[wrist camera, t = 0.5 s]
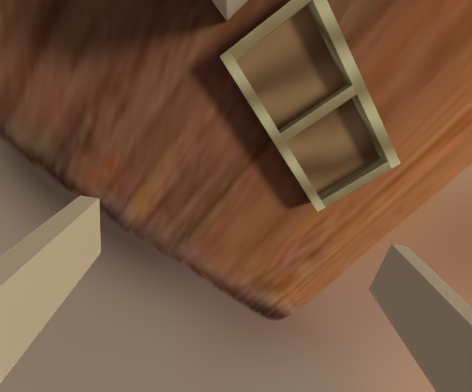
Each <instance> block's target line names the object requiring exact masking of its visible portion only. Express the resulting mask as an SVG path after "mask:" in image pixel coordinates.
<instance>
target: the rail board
mask: <svg viewBox="0 0 472 392" xmlns="http://www.w3.org/2000/svg"><path fill="white" fill-rule="evenodd" d="M220 59H221V61H222V62H223V64H224V65H225V67H226V68H227V70H228V72H229V73H230V75H231V76H232V78H233V80H234V81H235V83H236V84H237V86H238V87H239V89H240V91H241V92H242V94H243V95H244V97H245V99H246V100H247V102H248V103H249V105H250V106H251V108H252V110H253V111H254V113H255V114H256V116H257V118H258V119H259V121H260V122H261V124H262V125H263V127H264V129H265V130H266V132H267V133H268V135H269V137H270V138H271V140H272V141H273V143H274V144H275V146H276V148H277V149H278V151H279V152H280V154H281V156H282V157H283V159H284V160H285V162H286V163H287V165H288V167H289V168H290V170H291V171H292V173H293V175H294V176H295V178H296V179H297V181H298V182H299V184H300V186H301V187H302V189H303V190H304V192H305V193H306V195H307V197H308V198H309V200H310V201H311V203H312V204H313V206H314V207H315V209H316V210H317V212H318V211H320V210H322V209H323V208H325V207H327V206H329V205H330V204H332V203H334V202H335V201H337V200H339V199H341V198H342V197H344V196H346V195H347V194H349V193H351V192H353V191H354V190H356V189H358V188H359V187H361V186H363V185H365V184H366V183H368V182H370V181H372V180H373V179H375V178H377V177H378V176H380V175H382V174H384V173H385V172H387V171H389V170H390V169H392V168H394V167H396V166H397V165H399V164H401V163H400V161H399V159H398V157H397V154H396V152H395V150H394V148H393V146H392V143H391V141H390V139H389V137H388V134H387V132H386V130H385V128H384V126H383V123H382V121H381V119H380V117H379V114H378V112H377V110H376V108H375V106H374V103H373V101H372V99H371V97H370V94H369V92H368V90H367V88H366V86H365V83H364V81H363V79H362V77H361V74H360V72H359V70H358V68H357V66H356V63H355V61H354V59H353V57H352V54H351V52H350V50H349V48H348V46H347V43H346V41H345V39H344V37H343V34H342V32H341V30H340V28H339V26H338V23H337V21H336V19H335V17H334V14H333V12H332V10H331V8H330V6H329V3H328V1H327V0H291V1H289V2H288V3H287V4H286V5H284V6H283V7H282V8H280V9H279V10H278V11H277V12H275V13H274V14H273V15H272V16H270V17H269V18H268V19H267V20H265V21H264V22H263V23H261V24H260V25H259V26H258V27H256V28H255V29H254V30H253V31H251V32H250V33H249V34H247V35H246V36H245V37H244V38H242V39H241V40H240V41H239V42H237V43H236V44H235V45H234V46H232V47H231V48H230V49H228V50H227V51H226V52H225V53H223V54H222V55H221V56H220Z"/></svg>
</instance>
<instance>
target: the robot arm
mask: <svg viewBox="0 0 472 392" xmlns="http://www.w3.org/2000/svg"><path fill="white" fill-rule="evenodd" d="M100 253H101V243H100V207H99V198H92V197H86V196H79V197H78V198H77V199H75V200H74V201H73V202H71V203H70V204H69V205H67V206H66V207H65V208H63V209H62V210H61V211H59V212H58V213H57V214H55V215H54V216H53V217H51V218H50V219H49V220H47V221H46V222H45V223H43V224H42V225H41V226H40V227H38V228H37V229H35V230H34V231H33V232H32V233H30V234H29V235H28V236H26V237H25V238H24V239H22V240H21V241H20V242H18V243H17V244H16V245H14V246H13V247H12V248H10V249H9V250H8V251H6V252H5V253H4V254H3V255H1V256H0V383H1V382H2V381H3V379H4V378H5V377H6V375H7V374H8V373H9V371H10V370H11V369H12V368H13V366H14V365H15V364H16V362H17V361H18V360H19V358H20V357H21V356H22V355H23V353H24V352H25V351H26V349H27V348H28V347H29V345H30V344H31V343H32V342H33V340H34V339H35V337H36V336H37V335H38V334H39V332H40V331H41V330H42V328H43V327H44V326H45V324H46V323H47V322H48V321H49V319H50V318H51V317H52V315H53V314H54V313H55V311H56V310H57V309H58V307H59V306H60V305H61V304H62V302H63V301H64V300H65V298H66V297H67V296H68V294H69V293H70V292H71V291H72V289H73V288H74V287H75V285H76V284H77V283H78V281H79V280H80V279H81V277H82V276H83V275H84V274H85V272H86V271H87V270H88V268H89V267H90V266H91V264H92V263H93V262H94V261H95V259H96V258H97V257H98V255H99V254H100ZM369 290H370V292H371V293H372V295H373V296H374V298H375V300H376V301H377V303H378V304H379V305H380V307H381V309H382V310H383V312H384V313H385V315H386V316H387V318H388V319H389V321H390V322H391V324H392V325H393V327H394V328H395V330H396V331H397V333H398V334H399V336H400V338H401V339H402V341H403V342H404V344H405V345H406V347H407V348H408V350H409V351H410V353H411V354H412V356H413V357H414V359H415V360H416V362H417V363H418V365H419V366H420V368H421V369H422V371H423V372H424V374H425V375H426V377H427V379H428V380H429V382H430V383H431V385H432V386H433V388H434V389H435V391H436V392H472V307H471V306H470V305H468V303H466V302H465V301H464V300H463V299H462V298H461V297H460V296H459V295H458V294H457V293H456V292H455V291H454V290H453V289H452V288H451V287H450V286H448V285H447V284H446V283H445V282H444V281H443V280H442V279H441V278H440V277H439V276H438V275H437V274H436V273H434V271H433V270H431V269H430V268H429V267H428V266H427V265H426V264H425V263H424V262H423V261H422V260H421V259H420V258H419V257H418V256H417V255H415V253H413V252H412V251H411V250H410V249H409V248H408V247H407V246H401V245H394V244H392V245H391V247H390V248H389V250H388V252H387V254H386V257H385V258H384V260H383V262H382V264H381V266H380V268H379V270H378V272H377V274H376V276H375V278H374V280H373V282H372V284H371V286H370V288H369Z"/></svg>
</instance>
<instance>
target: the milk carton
mask: <svg viewBox="0 0 472 392" xmlns="http://www.w3.org/2000/svg"><path fill="white" fill-rule="evenodd" d="M247 1H248V0H212V2H213V3H214V4H215V6H216V7H217V9H218V10H219V11H220V13H221V14H222V16H223V17H224V18H225V20H229V19H230V18H231V17H232V16H233V15H234V14H235V13H236V12H237V11H238V10H239V9H240V8H241V7H242V6H243V5H244V4H245V3H246V2H247Z"/></svg>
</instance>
